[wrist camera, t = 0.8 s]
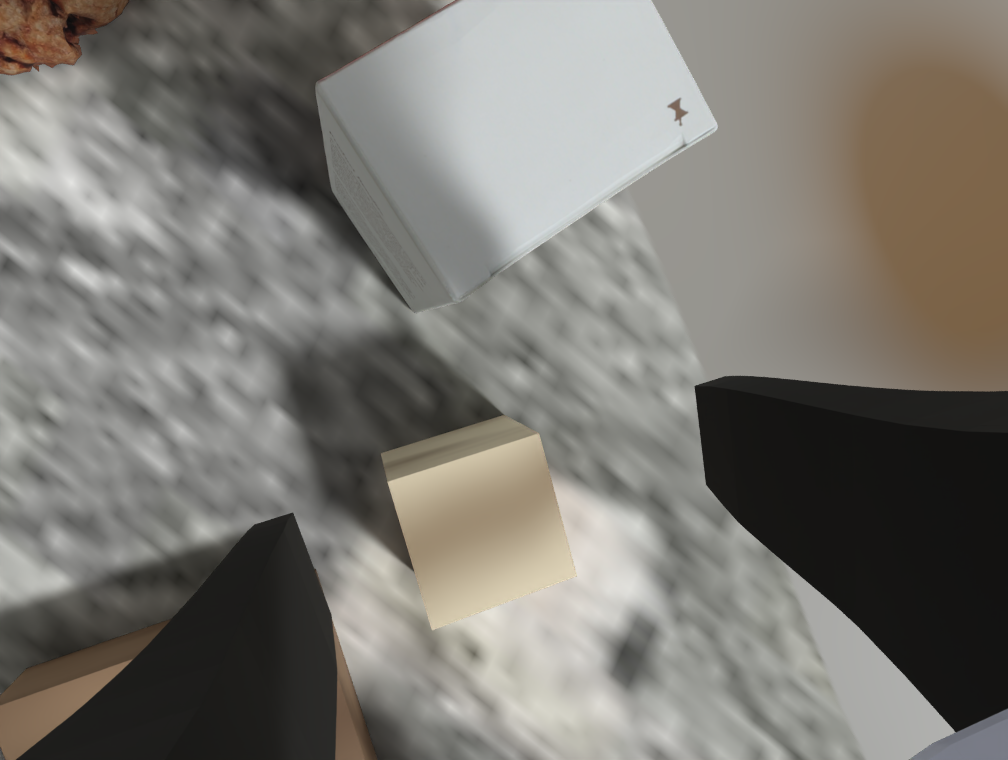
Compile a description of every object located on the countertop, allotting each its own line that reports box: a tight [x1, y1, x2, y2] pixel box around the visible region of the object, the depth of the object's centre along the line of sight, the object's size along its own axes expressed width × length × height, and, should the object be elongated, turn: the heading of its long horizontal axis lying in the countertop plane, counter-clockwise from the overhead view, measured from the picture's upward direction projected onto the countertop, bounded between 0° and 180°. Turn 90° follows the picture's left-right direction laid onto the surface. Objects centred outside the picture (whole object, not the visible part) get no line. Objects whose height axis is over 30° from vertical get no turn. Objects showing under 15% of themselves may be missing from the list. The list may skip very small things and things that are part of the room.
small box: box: [315, 0, 718, 313], centre depth 19 cm, size 8×6×10 cm
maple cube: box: [381, 415, 577, 630], centre depth 23 cm, size 5×5×5 cm
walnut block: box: [0, 569, 377, 760], centre depth 23 cm, size 10×10×3 cm
